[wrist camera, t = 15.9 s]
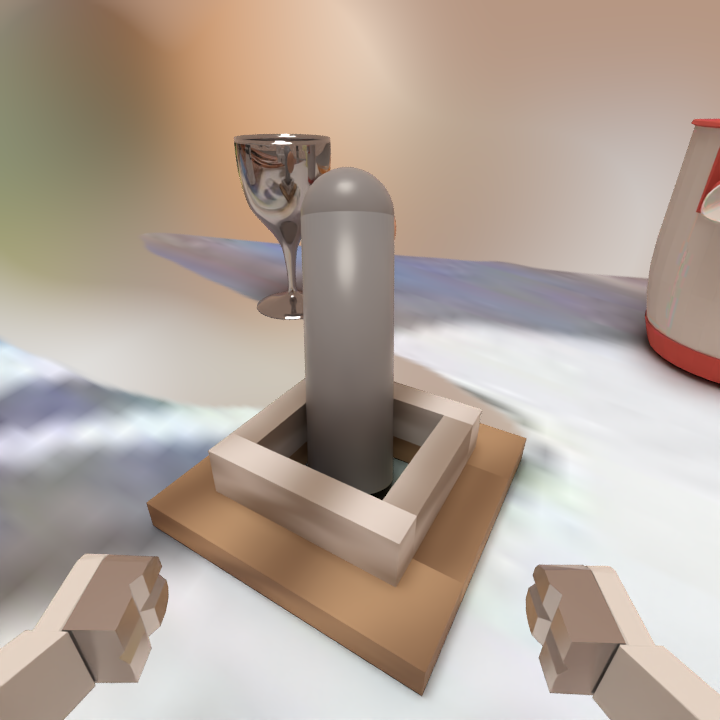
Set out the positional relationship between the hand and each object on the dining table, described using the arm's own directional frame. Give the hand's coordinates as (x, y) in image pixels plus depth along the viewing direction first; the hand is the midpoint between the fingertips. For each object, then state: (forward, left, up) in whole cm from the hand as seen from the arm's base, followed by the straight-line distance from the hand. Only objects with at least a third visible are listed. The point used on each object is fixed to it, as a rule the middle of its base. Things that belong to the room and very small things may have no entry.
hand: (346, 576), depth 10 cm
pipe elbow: (-7, +11, -9) cm, 16 cm away
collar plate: (-6, +10, -9) cm, 14 cm away
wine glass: (-24, +28, -9) cm, 37 cm away
